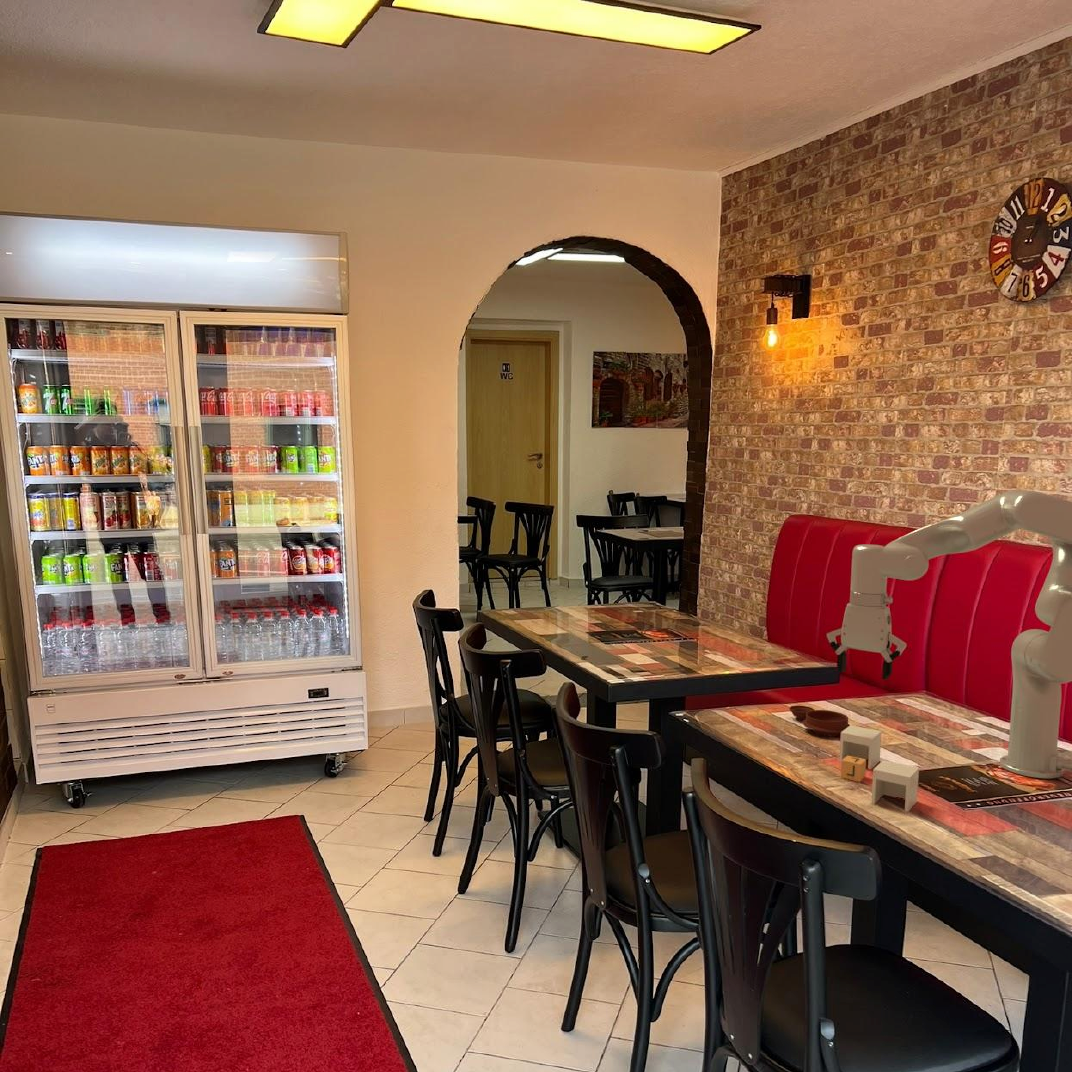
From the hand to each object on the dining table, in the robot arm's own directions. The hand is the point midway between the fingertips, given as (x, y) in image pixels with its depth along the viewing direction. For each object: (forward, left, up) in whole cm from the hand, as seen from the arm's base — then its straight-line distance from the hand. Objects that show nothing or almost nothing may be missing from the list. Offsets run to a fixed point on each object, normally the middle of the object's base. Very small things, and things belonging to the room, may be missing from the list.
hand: (863, 674), depth 202 cm
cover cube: (0, 0, -20) cm, 20 cm away
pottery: (+17, -20, -21) cm, 33 cm away
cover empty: (-13, +20, -20) cm, 31 cm away
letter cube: (-2, +11, -20) cm, 23 cm away
